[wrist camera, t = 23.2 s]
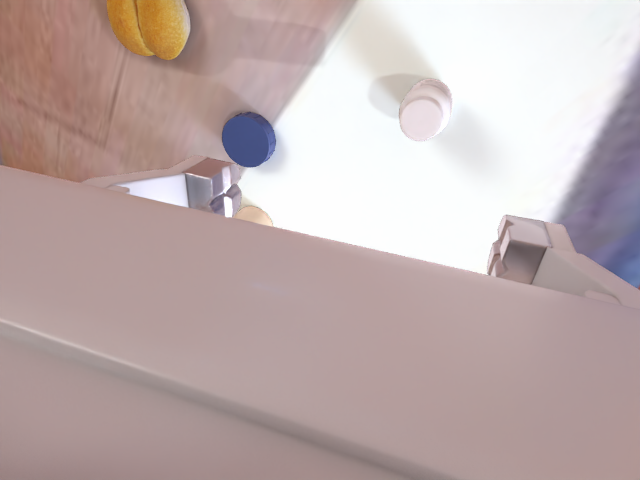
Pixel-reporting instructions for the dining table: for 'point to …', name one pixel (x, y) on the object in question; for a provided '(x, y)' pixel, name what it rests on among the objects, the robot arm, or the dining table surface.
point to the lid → (248, 139)
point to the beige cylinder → (253, 215)
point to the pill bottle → (425, 110)
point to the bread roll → (150, 26)
